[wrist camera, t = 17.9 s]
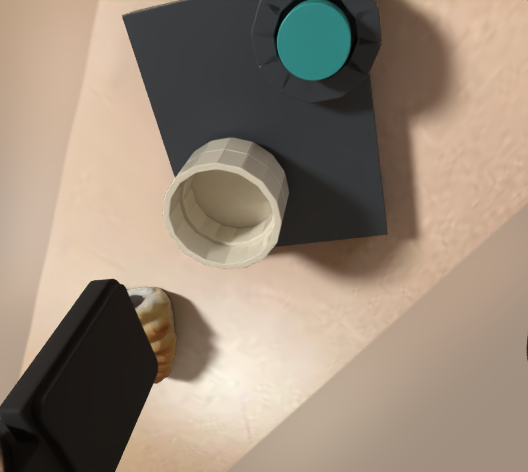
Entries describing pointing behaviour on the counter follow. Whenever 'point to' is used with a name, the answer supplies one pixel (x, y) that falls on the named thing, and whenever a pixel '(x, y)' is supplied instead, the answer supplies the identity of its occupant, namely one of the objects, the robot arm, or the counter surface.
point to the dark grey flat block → (269, 105)
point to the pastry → (157, 325)
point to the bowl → (227, 204)
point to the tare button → (314, 40)
